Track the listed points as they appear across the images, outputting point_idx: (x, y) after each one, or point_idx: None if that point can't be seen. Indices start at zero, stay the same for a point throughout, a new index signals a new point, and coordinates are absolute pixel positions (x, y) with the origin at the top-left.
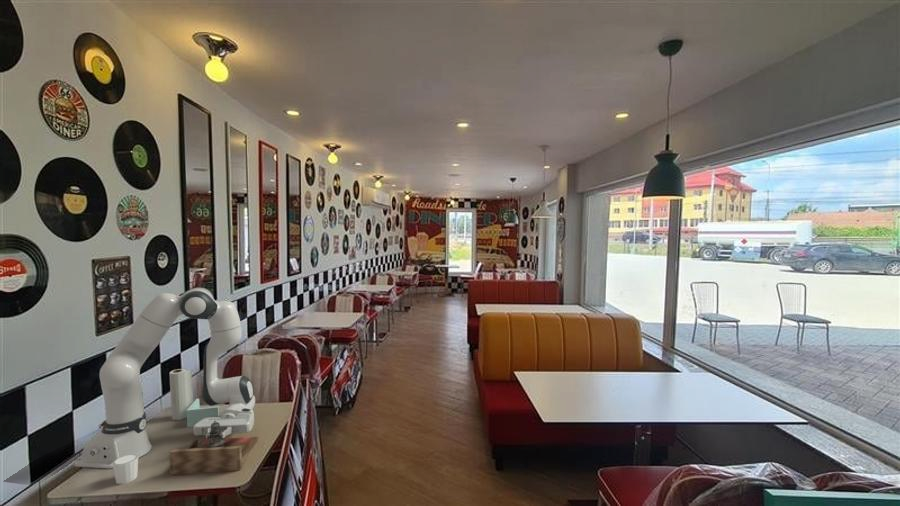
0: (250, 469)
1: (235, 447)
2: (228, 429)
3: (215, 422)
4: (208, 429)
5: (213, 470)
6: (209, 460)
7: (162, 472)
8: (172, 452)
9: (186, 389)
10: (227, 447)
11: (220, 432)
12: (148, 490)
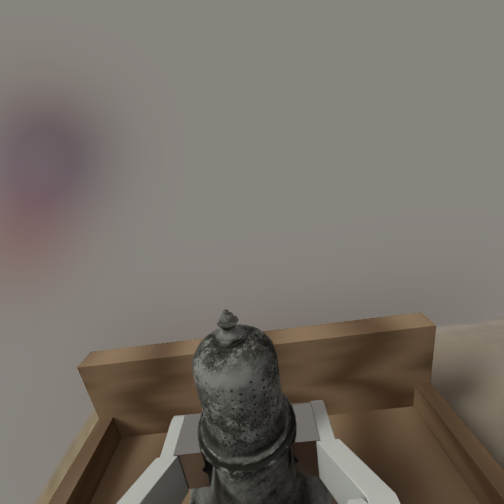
0: (82, 439)
1: (107, 355)
2: (125, 495)
3: (223, 329)
4: (381, 495)
5: None
6: None
7: (476, 415)
8: (406, 317)
9: None
10: (146, 354)
11: (199, 420)
12: None
